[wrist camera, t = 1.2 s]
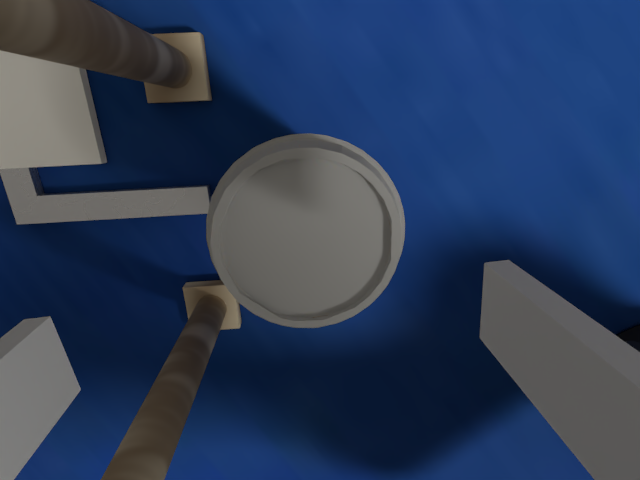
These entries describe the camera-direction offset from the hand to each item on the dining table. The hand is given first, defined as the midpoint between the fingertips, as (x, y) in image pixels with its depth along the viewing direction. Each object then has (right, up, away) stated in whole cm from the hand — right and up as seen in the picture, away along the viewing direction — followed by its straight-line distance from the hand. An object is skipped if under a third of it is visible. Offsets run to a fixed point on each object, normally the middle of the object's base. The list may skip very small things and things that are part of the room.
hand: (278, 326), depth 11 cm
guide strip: (-14, +5, +16) cm, 22 cm away
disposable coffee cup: (0, +6, +17) cm, 18 cm away
